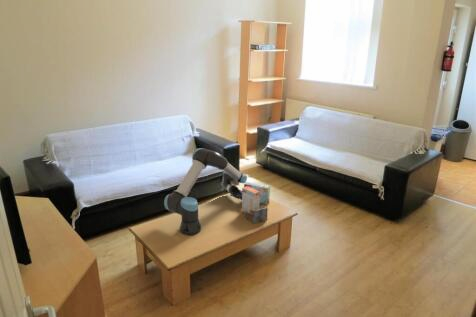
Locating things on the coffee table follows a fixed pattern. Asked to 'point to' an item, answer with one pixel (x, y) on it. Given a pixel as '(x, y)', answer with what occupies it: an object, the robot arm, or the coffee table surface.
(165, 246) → the coffee table surface
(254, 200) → the cracker box
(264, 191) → the snack box
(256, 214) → the bookend slot
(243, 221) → the coffee table surface
